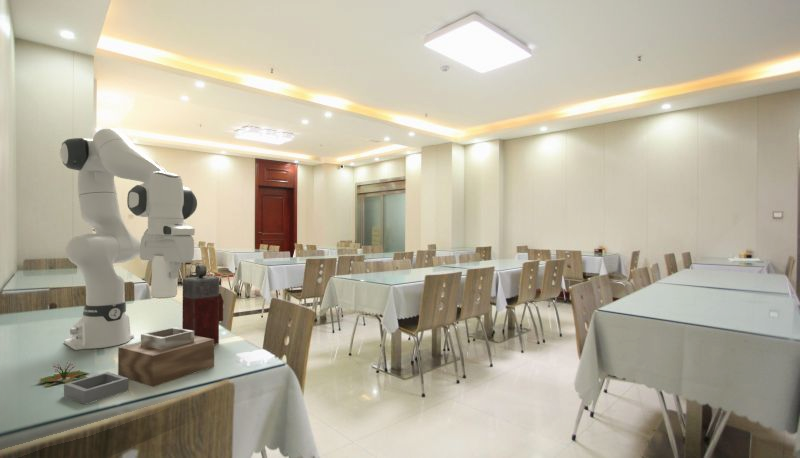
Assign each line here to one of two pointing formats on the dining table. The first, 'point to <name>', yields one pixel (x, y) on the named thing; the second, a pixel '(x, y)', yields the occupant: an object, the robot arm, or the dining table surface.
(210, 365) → the socket pedestal
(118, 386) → the collar
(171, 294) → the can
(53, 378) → the leafy plant
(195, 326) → the red mill shaker
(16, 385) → the dining table surface
